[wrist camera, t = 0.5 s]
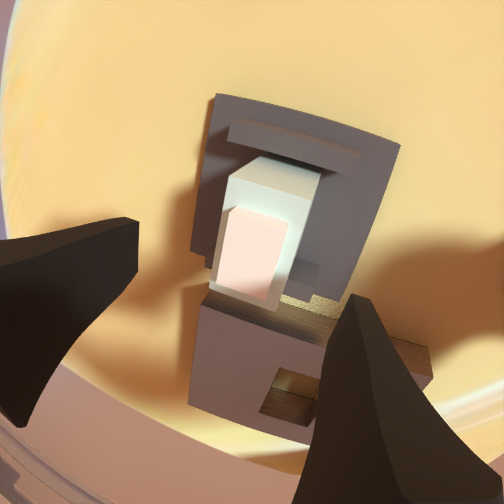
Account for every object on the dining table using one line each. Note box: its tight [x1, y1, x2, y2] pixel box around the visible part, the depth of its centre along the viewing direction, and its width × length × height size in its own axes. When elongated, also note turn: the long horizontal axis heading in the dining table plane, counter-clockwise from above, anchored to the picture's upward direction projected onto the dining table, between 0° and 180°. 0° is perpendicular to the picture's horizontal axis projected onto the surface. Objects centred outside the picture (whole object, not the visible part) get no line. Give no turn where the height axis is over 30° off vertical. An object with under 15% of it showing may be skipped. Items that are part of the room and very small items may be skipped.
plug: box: [209, 152, 323, 312], centre depth 14 cm, size 3×5×7 cm, turn 167°
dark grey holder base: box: [190, 93, 401, 303], centre depth 16 cm, size 10×10×3 cm
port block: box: [188, 289, 433, 445], centre depth 22 cm, size 16×12×3 cm
